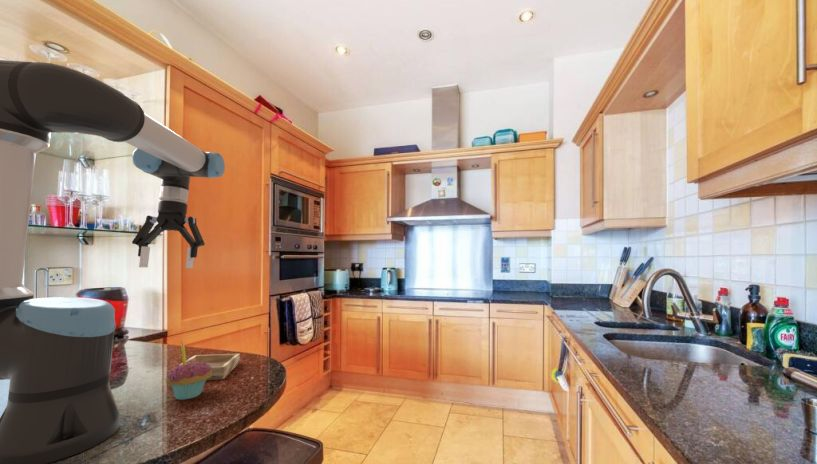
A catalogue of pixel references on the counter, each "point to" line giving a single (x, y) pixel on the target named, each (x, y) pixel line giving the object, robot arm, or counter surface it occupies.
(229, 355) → the maple box
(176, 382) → the cupcake
